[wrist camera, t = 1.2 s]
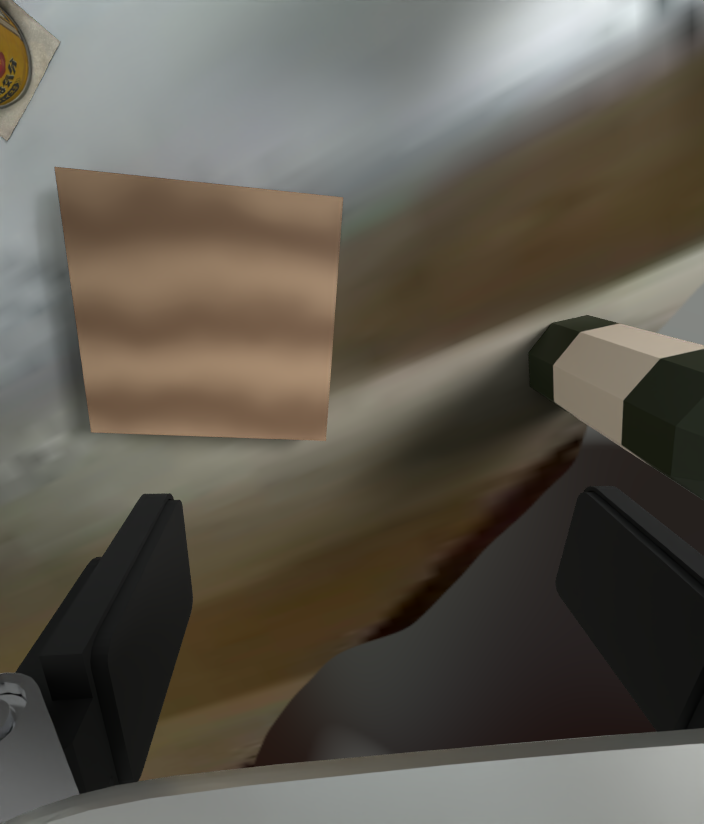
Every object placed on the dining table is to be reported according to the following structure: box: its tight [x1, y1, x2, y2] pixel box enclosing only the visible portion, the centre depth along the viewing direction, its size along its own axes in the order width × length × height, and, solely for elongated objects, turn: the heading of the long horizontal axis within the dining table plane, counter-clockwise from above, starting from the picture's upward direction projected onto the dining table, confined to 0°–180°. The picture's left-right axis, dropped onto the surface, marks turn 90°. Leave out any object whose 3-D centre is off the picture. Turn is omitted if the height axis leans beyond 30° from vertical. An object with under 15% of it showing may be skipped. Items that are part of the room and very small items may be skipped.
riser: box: [55, 167, 343, 441], centre depth 33 cm, size 18×18×4 cm
